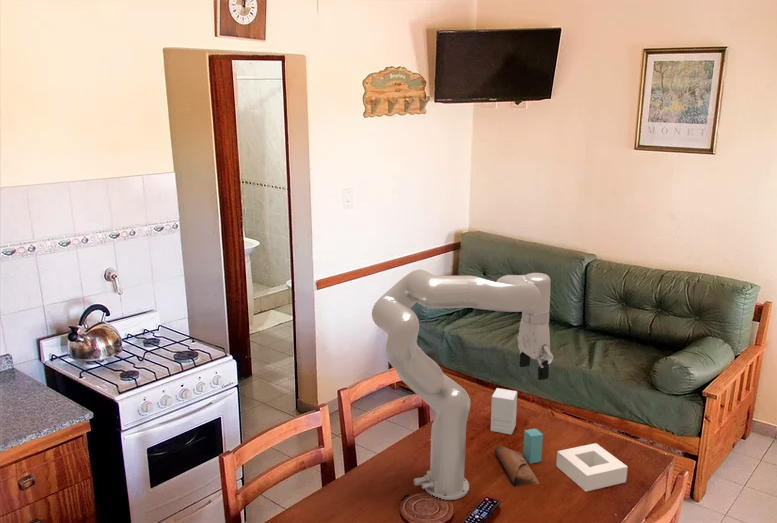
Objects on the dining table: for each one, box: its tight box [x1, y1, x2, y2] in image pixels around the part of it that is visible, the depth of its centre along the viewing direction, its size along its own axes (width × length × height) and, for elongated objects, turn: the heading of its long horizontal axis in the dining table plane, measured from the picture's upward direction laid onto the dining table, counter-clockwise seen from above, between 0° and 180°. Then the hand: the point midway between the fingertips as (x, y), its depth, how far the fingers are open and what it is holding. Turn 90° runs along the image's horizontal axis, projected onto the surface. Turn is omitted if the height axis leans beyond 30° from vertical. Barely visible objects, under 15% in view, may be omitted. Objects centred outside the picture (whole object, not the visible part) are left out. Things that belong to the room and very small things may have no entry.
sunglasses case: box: [494, 445, 540, 487], centre depth 190 cm, size 18×7×7 cm, turn 9°
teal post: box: [522, 428, 544, 464], centre depth 195 cm, size 4×4×9 cm
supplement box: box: [490, 387, 518, 436], centre depth 213 cm, size 7×7×13 cm
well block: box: [556, 442, 629, 492], centre depth 188 cm, size 14×14×5 cm
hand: (533, 372), depth 185 cm, fingers open, 9 cm apart
